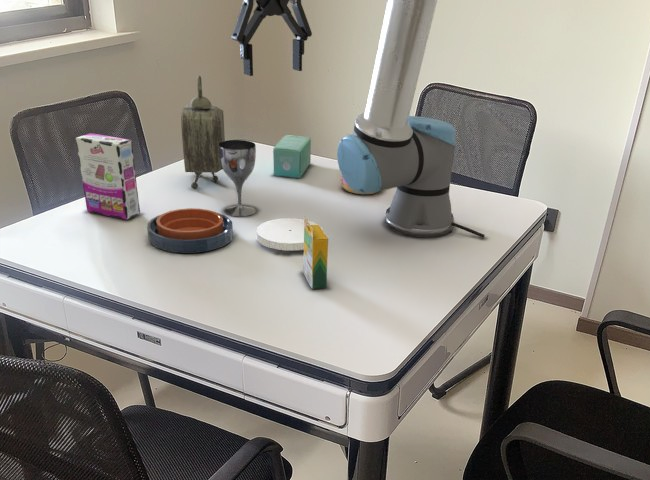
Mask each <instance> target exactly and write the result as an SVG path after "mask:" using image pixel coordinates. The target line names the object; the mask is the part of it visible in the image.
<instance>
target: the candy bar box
mask: <svg viewBox="0 0 650 480" xmlns="http://www.w3.org/2000/svg"><path fill="white" fill-rule="evenodd" d="M132 141H133V140H132V139H128V138H121V137H115V136H109V135H105V134H98V133H97V134H96V133H91V132H90V133H85V134H83V135H80V136H77V137H75V142H76V143H75V144H76V151H77V155H78V163H79V169H80V174H81V175H80V176H81V180H82V181H81V182H82V187H83V194H84V199H85V201H84V202H85V205H86V211H87V212H88V213H92V214H97V215H101V216H105V217H106V216H107V217H111V218H115V219H122V220H125V221H127V220H130V219H132V218H134V217H136V216H139V215H140V214H141V208H140V199H139V191H138V181H137V176H136V168H135V167H136V166H135V158H134V150H133V142H132Z"/></svg>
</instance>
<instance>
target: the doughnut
mask: <svg viewBox="0 0 650 480" xmlns="http://www.w3.org/2000/svg"><path fill="white" fill-rule="evenodd" d="M340 182H341V186H342V188H343V189H344V190H345V191H347V192H349V193H352V194H355V195H373V194H376V193H379V192H380V191H378V192H376V193H373V192H370V193H358V192H356V191H354V190H353V189H351V188H350V187H349V186H348V184H347V183H346V182H345V180H344V178H343V176H342V175H341V178H340Z"/></svg>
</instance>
